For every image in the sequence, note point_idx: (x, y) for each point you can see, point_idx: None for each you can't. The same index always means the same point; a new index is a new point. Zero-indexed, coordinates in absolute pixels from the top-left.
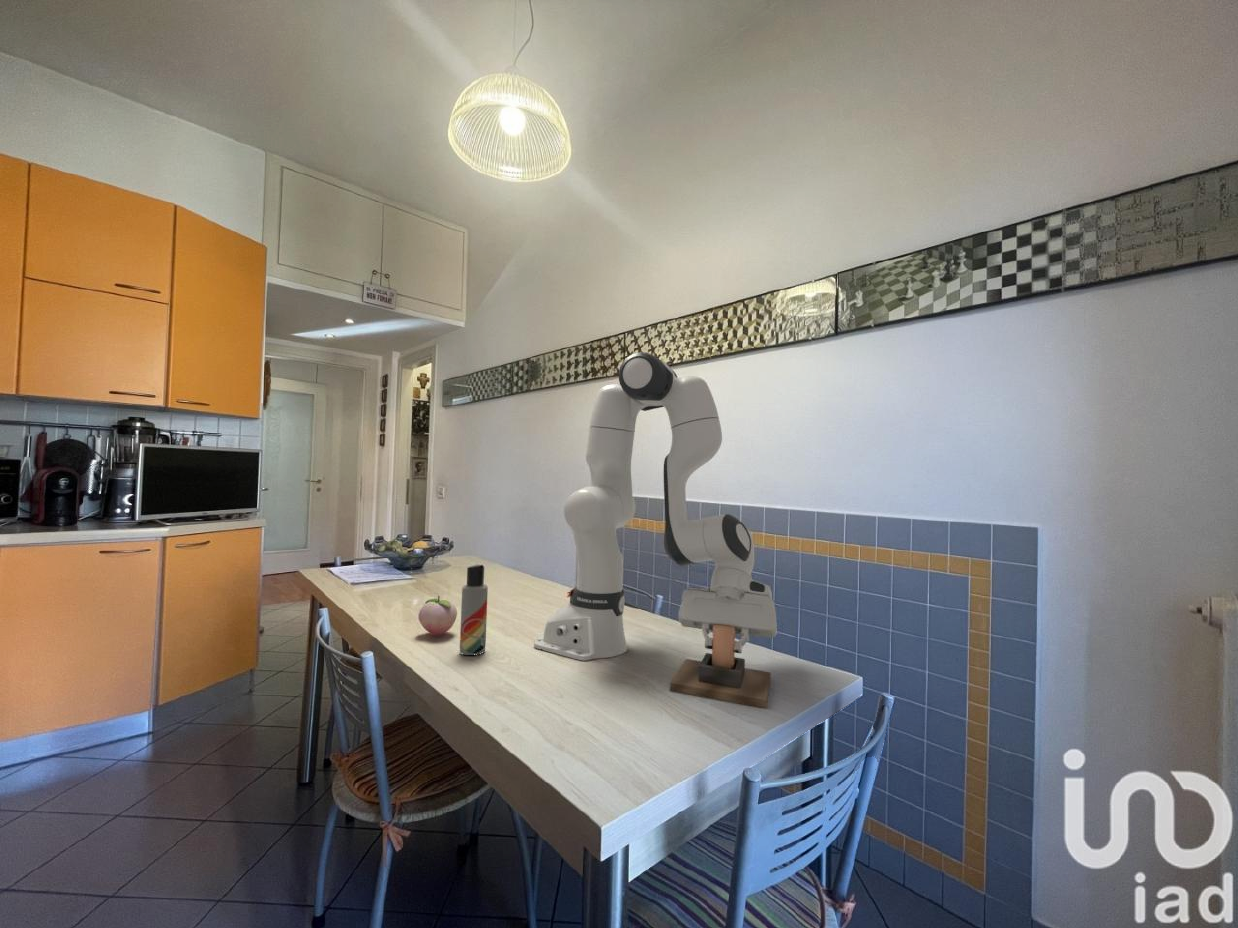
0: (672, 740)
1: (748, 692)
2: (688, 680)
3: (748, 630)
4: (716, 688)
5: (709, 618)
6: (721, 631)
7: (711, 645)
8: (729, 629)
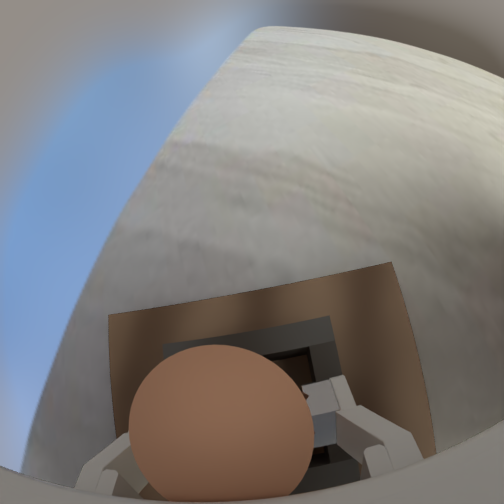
0: (263, 109)
1: (155, 338)
2: (355, 314)
3: (76, 486)
4: (251, 312)
5: (382, 498)
6: (211, 347)
7: (303, 384)
8: (160, 407)
